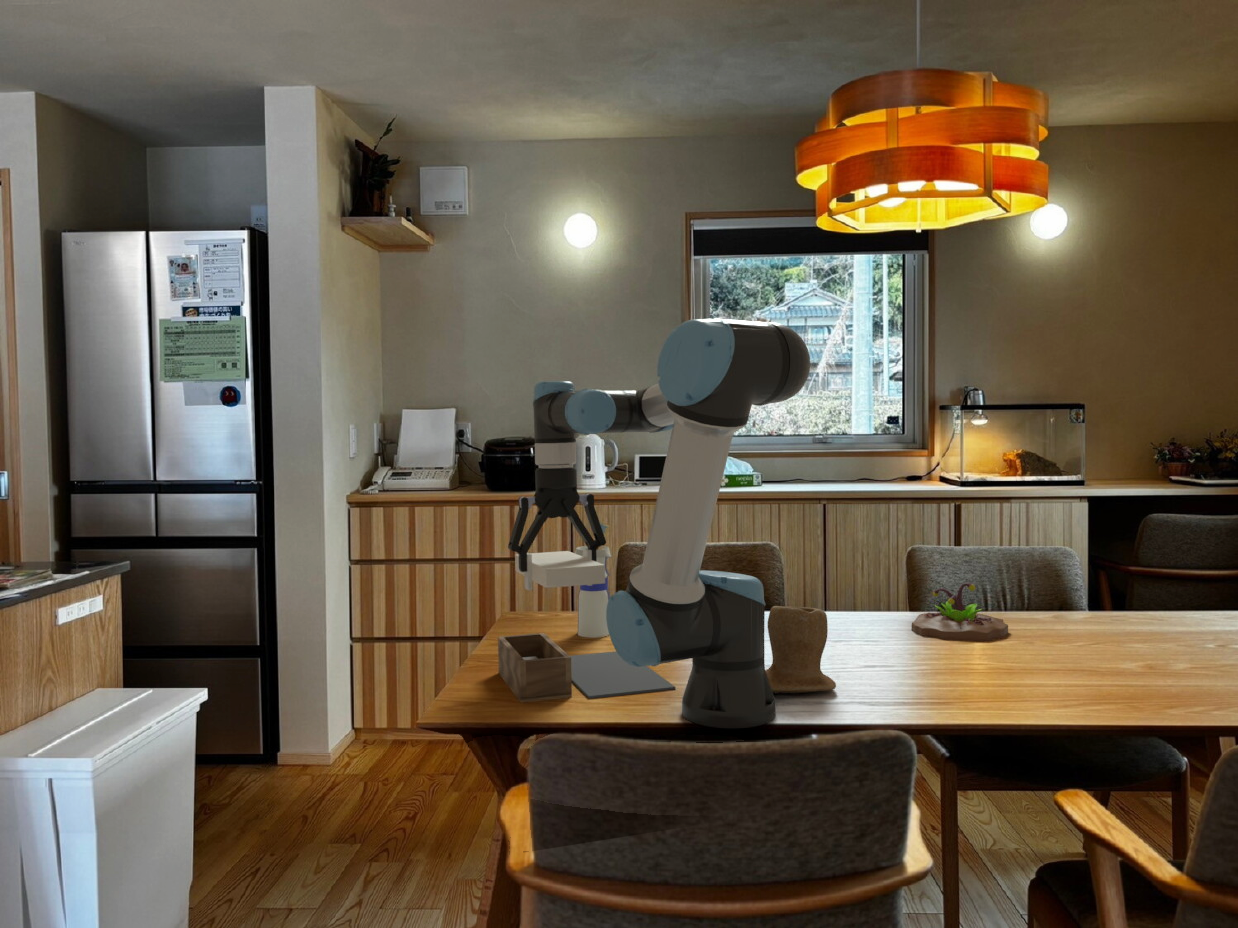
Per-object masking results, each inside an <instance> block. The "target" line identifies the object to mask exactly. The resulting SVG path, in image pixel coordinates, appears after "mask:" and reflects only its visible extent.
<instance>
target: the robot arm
mask: <svg viewBox="0 0 1238 928" xmlns="http://www.w3.org/2000/svg"><path fill="white" fill-rule="evenodd" d="M810 356H811V355H810V352H809V349H808V347H807V345H806V343H805V341H804V340H803V338H802V337H801V336H800V335H799V334H798V333H797V332H796V331H795V330H794V329H792V328H790V327H788V326H786V325H785V324H781V323H778V322H772V321H752V320H751V321H750V320H740V319H728V318H727V319H726V318H725V319H724V318H717V317H707V318H703V319H702V318H699V319H698V318H696V319H689V320H686V321H684V322H682V323H680V324H679V326H677V327H675V328H674V329H672V331H670V332H669V334H668V335H667V337H666V339H665V340H664V343H663V345H662V346H661V349H660V352H659V355H658V360H657V367H656V373H657V377H660V378H659V380H658V383H656V384H653V385H651V386H649V387H648V386H647V387H645V388H642V389H637V390H635V389H634V390H633V389H631V390H630V389H629V390H624V389H623V390H621V389H620V390H614V389H612V390H610V389H609V390H608V389H607V390H606V389H605V390H603V389H597V388H584V389H581V390H575V385H574V383H573V382H572V381H568V380H566V381H565V380H560V381H559V380H551V381H549V380H548V381H539V382H537V383H535V384H534V387H533V400H532V407H533V409H532V410H533V430H534V433H533V434H534V463H535V465H536V466H538V467H537V468H536V469H534V473H535V478H534V479H535V491H534V492H535V493H534V495H533V496H526V497H525V496H519V497H518V511H517V514H516V518H515V520H514V525H513V528H512V531H511V535H510V539H509V541H508V545H507V549H509V550H510V551H512V552H515V553H517V554H518V555H519V570H520V571H521V572H524V575H523V576H524V577H523V578H524V589H525V590H527V591H528V592H529V591H533V580H532V554H530V553H531V552H530V553H529V550H530V549H531V546H532V545H533V543H534V541H535V539H536V537H537V536H538V534H539V532H540V531H541V529H542V527H543V525H544V523H546V521H547V520H548V518H549V519H556V518H563V519H564V518H568V520H569V521H570V522H571V524H572V525H573V528H575V530H576V531H577V533H578V535H579V536H580V538H581V539H582V541H583V543H584V544H585V546H586V547H588V549H583V557H585V558H588V559H590V560H593V561H596V560H597V559H596V550H599V548H600V547H603V546H606V543H607V539H606V537H605V534H604V533H603V531H602V528H601V522H600V520H599V517H598V514H597V511H596V508H595V496H594V494H592V493H585V494H579V492H578V485H577V484H578V479H577V478H578V477H577V474H578V473H577V471H578V470H577V468H576V467H574V465H576V464H577V442H576V441H577V439H576V438H577V437H576V435H577V434H578V435H579V434H582V435H597V434H615V433H650V434H651V433H653V434H654V433H660V432H665V431H666V432H667V431H669V430H671V433H670V437H669V442H668V443H669V444H668V447H667V452H666V457H665V461H664V465H663V470H662V474H661V479H660V484H659V488H658V492H657V497H656V501H655V506H654V510H653V515H652V521H651V524H650V529H649V534H648V539H647V541H646V546H645V547H646V548H645V552H644V556H643V560H642V563H641V564H639V565H638V566H635V567H634V568H633V569H632V570H631V571H630V574H629V578H628V584H627V587H626V589H625V590H617V592H615V593H614V594H612V595H610V599H609V601H608V604H607V609H606V621H607V628H608V632H609V637H610V641H611V644H612V646H613V648H614V649H615V651H617V653H618V654H619V656H620V657H621V658H622V659H623V660H624V661H625V662H626V663H628V664H629V665H631V666H634V667H643V666H648V667H650V666H651V667H657V666H659V665H663V664H669V663H673V662H677V661H679V662H680V661H684V660H690V659H692V660H691V661H692V664H691V665H692V666H691V670H690V673H689V676H688V681H687V683H686V686H685V689H684V694H683V696H682V700H681V715H682V716H683V718H684V719H686V720H687V721H688V722H692V723H694V724H696V725H700V726H705V727H710V728H715V729H716V728H717V729H747V728H754V727H755V728H756V727H759V726H762V725H766V724H768V722H769V723H770V722H772V721H774V719H775V718H776V717H777V714H776V713H777V712H776V710H777V708H776V707H777V705H776V703H777V702H776V698H775V696H774V693H773V692H772V689H771V686H770V683H769V680H768V677H767V674H766V671H765V670H766V667H765V613H766V612H765V610H766V609H765V607H766V601H765V595H764V594H765V593H764V591H765V589H764V585H763V583H762V581H761V580H760V579H759V578H758V577H755V576H752V575H748V574H744V573H736V572H728V571H720V570H719V571H718V570H702V569H701V567H702V563H703V559H704V554H705V552H706V551H705V550H706V547H707V544H708V543H707V542H708V539H709V534H710V530H711V527H712V522H713V517H714V514H715V511H716V506H717V501H718V498H719V494H720V489H721V485H722V481H723V478H724V472H725V469H726V465H727V462H728V461H727V460H728V456H729V453H730V449H731V446H732V445H731V444H732V441H733V437H734V434H735V432H738V431H739V430H741V429H743V428H744V427H746V426H747V424H748V422H749V418H750V414H751V409H752V407H753V406H759V407H760V406H766V405H769V404H775V403H782V402H785V401H787V400H789V399H791V398H793V397H794V396H795V395H797V394H798V393H799V392H801V390H802V389H803V388H804V387H805V384H806V382H807V380H808V378H809V375H810V371H811V357H810ZM579 502H580V504H581V506H583V508H584V512H585V514H586V517H587V520H588V523H589V526H590V529H591V532H592V535H593V537H592V535H591V533H590V532H589V531H588V529H587V527H586V525H585V524H584V522H583V521H582V519H581V518H580V516H579V514H578V512H577V511H576V509H575V508H576V505H577V504H578V503H579ZM533 504H535V506H536V507H537V508H538V511H537V512H536V514H535V517H534V519H533V521H532V523H531V525H530V526H529V528H528V530H527V532H526V533H525V535H524V537H523V538H522V535H523V532H524V528H525V525H526V522H527V519H528V516H529V515H528V514H529V510H530V509H532V508H533V507H532V506H533ZM521 539H522V540H521ZM596 562H597V561H596ZM588 586H592V584H591V585H588ZM765 723H766V724H765Z"/></svg>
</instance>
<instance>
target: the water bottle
mask: <svg viewBox="0 0 1238 928" xmlns="http://www.w3.org/2000/svg"><path fill="white" fill-rule="evenodd" d="M600 525H601V528H602V531H603V534H604V535H605V536H607V535H608V532H607V529H608V528H610V525H606V524H605V523H604V521H603V520H602V521H601V522H600ZM583 549H588V547H587V546H586V545H585V546H584V545H583V546H578V547H576V548H575V551H574V553H575V554H577V555H580V556H583ZM610 558H612V555H611V550H610V547H609V546H606V545H603V546H601V548H600V549H597V550H596V559H597V560H596V561H597V562H598V563H601V564H603V565H605V583H603V584H592V586H588V585H579V591H578V595H577V596H578V597H577V601H578V602H577V604H578V605H577V610H578V613H577V615H578V616H577V635H578V636H580V637H583V638H593V639H596V638H597V639H598V638H604V637H605V636H606V637H608V636H607V635H609V632H608V628H607V621H606V609H607V604H608V601H609V599H610V597H611V594H610V590H609V583H608V582H609V576H610V573H609V570H608V568H607V563H608V562H607V560H608V559H610ZM609 636H610V635H609Z"/></svg>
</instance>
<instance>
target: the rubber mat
mask: <svg viewBox="0 0 1238 928" xmlns="http://www.w3.org/2000/svg"><path fill="white" fill-rule="evenodd" d="M569 656H570V657H571V677H572V684H573V685H574V686H576V688H577V689H578V690H579V691H581V693H582V694H583V695H584V697H586V698H587V699H588V700H592V699H602V698H609V697H610V698H611V697H612V698H613V697H619V696H628V695H638V694H649V693H655V692H664V691H665V692H666V691H675V690H676V686H675V685H674V684H673V683H671V682H669V681H668V680H667V679H666V678H664V677H663V676H661V675H660V674H659V673H657V672H656V671H654V669H652V668H650V666H643V667H634V666H631V665H629V664H628V663H626V662H625V661H624V660H623V659H622V658H621V657H620V656H619V654H618V653H617V651H616V650H615V651H606V652H605V651H604V652H596V653H595V652H594V653H585V654H584V653H583V654H574V655H572V654H571V655H569Z"/></svg>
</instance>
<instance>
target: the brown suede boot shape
mask: <svg viewBox="0 0 1238 928" xmlns="http://www.w3.org/2000/svg"><path fill="white" fill-rule="evenodd" d="M767 619H768V620H767V630H768V631H767V632H768V638H769V644H770V649H771V656H772V662H771V665H770V666H769V667H768V668H766V669H765V671H766V674H767V677H768V680H769V683H770V686H771V689H772V692H773V694H799V693H802V694H803V693H815V692H828V691H834V690H835V689H836V688H837V684H836V682H835V681H834V680H833V678H831V677H829V676H828V675H826V674H824V673H823V672H822V669H821V661H822V657H823V653H824V650H825V647H826V644H827V639H828V632H829V631H828V628H829V627H828V615H827V614H826V612H825V611H824V610H823V609H820V608H815V607H807V606H805V607H803V606H779V605H773V606H772V607H771V608H770V610H769V614H768V617H767Z"/></svg>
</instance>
